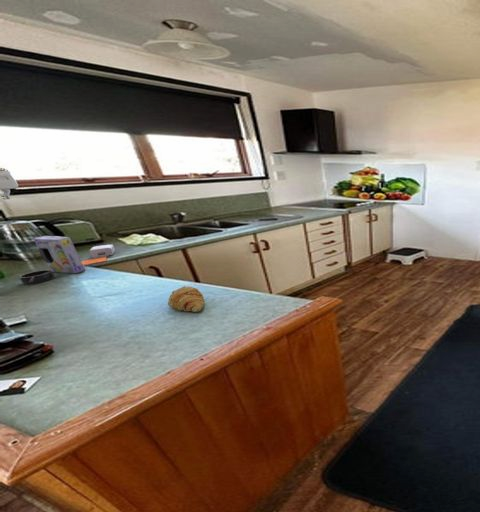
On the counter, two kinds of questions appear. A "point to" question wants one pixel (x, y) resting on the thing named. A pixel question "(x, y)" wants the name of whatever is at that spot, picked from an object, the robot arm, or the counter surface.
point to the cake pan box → (59, 254)
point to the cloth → (94, 261)
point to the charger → (101, 251)
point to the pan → (37, 276)
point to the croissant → (186, 299)
